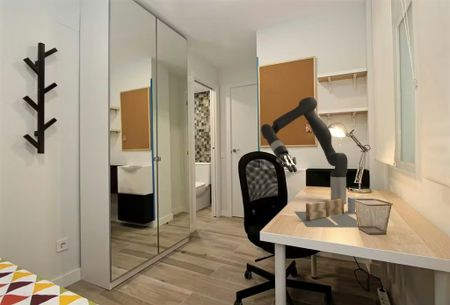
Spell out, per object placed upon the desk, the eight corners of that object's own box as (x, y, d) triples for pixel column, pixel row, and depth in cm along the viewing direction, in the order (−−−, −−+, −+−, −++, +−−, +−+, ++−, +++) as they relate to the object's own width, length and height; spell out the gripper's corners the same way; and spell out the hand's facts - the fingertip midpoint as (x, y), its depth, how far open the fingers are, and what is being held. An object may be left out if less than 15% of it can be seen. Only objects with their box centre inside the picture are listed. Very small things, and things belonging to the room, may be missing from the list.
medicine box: (362, 212, 124) (362, 197, 124) (366, 214, 120) (366, 198, 120) (347, 212, 125) (347, 197, 125) (351, 214, 121) (350, 198, 121)
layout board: (294, 212, 127) (294, 211, 127) (342, 212, 125) (342, 211, 125) (307, 227, 101) (307, 226, 101) (369, 228, 99) (369, 227, 99)
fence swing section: (323, 215, 116) (323, 200, 116) (326, 216, 115) (326, 201, 115) (305, 219, 111) (305, 203, 111) (308, 220, 109) (307, 204, 109)
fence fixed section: (327, 217, 115) (326, 200, 115) (323, 216, 117) (323, 200, 117) (344, 213, 121) (344, 198, 121) (341, 213, 123) (341, 197, 123)
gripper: (272, 145, 127) (287, 167, 116) (291, 144, 133) (307, 166, 122) (267, 154, 132) (280, 176, 121) (285, 153, 138) (300, 175, 127)
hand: (293, 171), depth 122 cm, fingers closed
